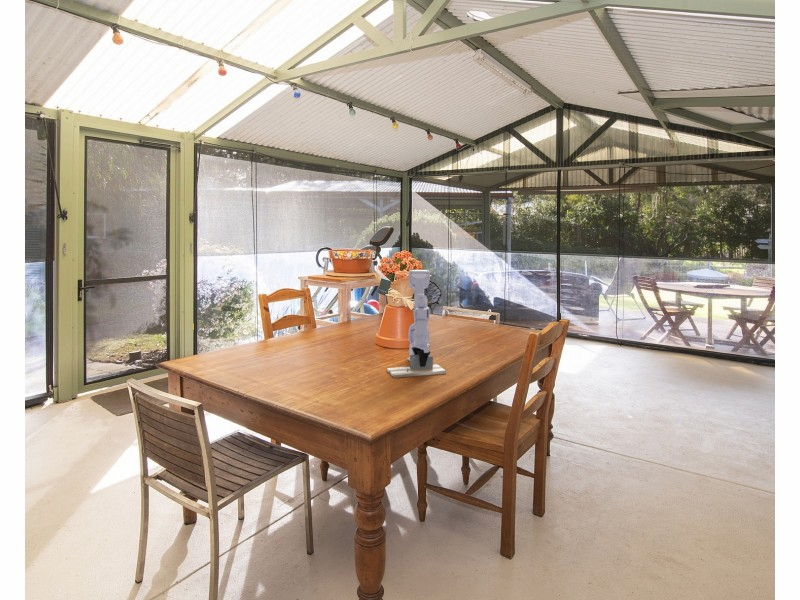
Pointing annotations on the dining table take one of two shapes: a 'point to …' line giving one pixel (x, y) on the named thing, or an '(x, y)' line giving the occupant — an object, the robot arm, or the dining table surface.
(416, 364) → the block
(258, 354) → the dining table surface
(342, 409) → the dining table surface
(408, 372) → the cream flat panel
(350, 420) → the dining table surface
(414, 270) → the robot arm
